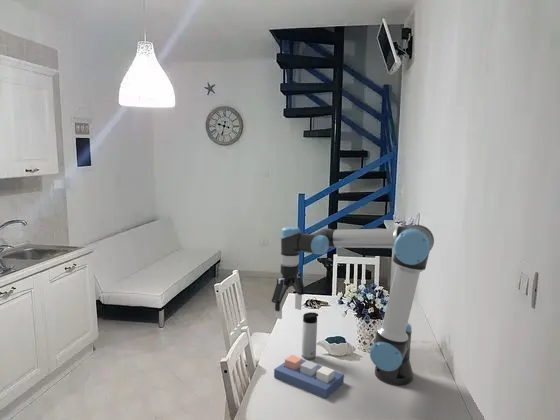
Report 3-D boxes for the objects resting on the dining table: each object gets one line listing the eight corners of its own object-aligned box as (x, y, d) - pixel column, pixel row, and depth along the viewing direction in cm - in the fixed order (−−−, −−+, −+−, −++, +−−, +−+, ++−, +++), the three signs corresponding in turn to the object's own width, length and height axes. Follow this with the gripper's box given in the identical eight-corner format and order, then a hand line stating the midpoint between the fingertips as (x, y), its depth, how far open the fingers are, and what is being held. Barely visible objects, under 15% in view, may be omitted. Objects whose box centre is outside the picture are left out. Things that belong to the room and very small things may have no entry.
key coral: (301, 366, 176) (302, 358, 175) (294, 371, 172) (295, 363, 171) (291, 362, 179) (292, 354, 178) (284, 367, 175) (285, 359, 174)
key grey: (317, 372, 171) (317, 364, 171) (310, 377, 167) (311, 369, 167) (306, 368, 174) (307, 360, 174) (300, 373, 170) (300, 365, 170)
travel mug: (315, 360, 187) (317, 316, 185) (300, 358, 188) (302, 315, 186) (317, 354, 193) (319, 311, 191) (302, 352, 195) (304, 310, 192)
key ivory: (333, 378, 167) (334, 370, 166) (327, 384, 163) (327, 375, 162) (322, 374, 170) (323, 366, 169) (316, 379, 166) (316, 371, 165)
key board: (343, 382, 170) (343, 374, 169) (325, 398, 159) (326, 389, 158) (293, 364, 184) (293, 356, 183) (274, 377, 173) (274, 369, 172)
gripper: (299, 257, 189) (298, 303, 192) (263, 268, 170) (262, 319, 172) (314, 260, 185) (312, 307, 187) (278, 272, 165) (277, 324, 168)
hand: (288, 313), depth 180 cm, fingers open, 13 cm apart
